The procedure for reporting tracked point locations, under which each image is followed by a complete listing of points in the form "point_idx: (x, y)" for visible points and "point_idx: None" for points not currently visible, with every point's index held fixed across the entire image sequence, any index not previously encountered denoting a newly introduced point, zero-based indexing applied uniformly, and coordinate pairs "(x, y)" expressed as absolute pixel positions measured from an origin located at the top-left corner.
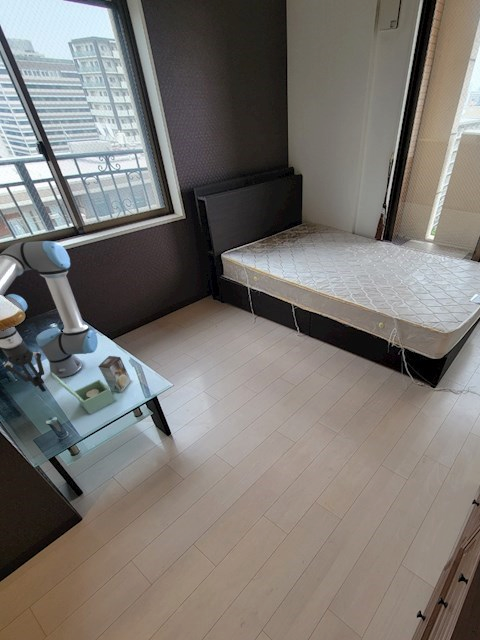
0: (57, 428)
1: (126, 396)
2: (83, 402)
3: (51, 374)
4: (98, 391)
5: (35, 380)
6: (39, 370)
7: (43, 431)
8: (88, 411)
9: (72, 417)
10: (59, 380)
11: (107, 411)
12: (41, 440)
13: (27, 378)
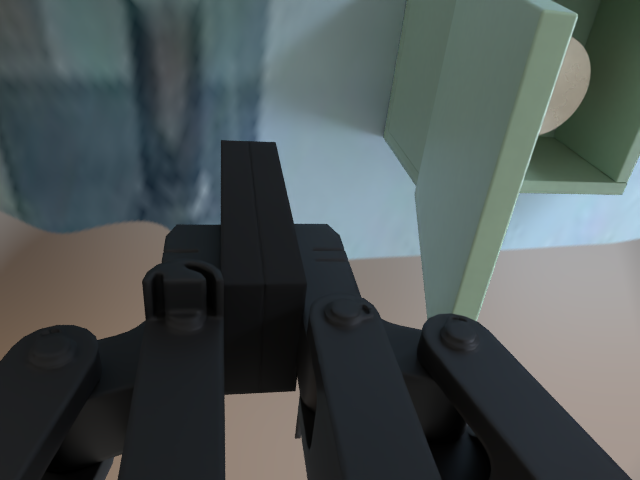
0: (164, 99)
1: None
2: None
3: (530, 55)
4: (574, 108)
5: (234, 390)
6: (455, 396)
7: (68, 46)
8: (391, 149)
9: (290, 69)
10: (482, 291)
11: None
12: (36, 132)
13: (114, 453)
